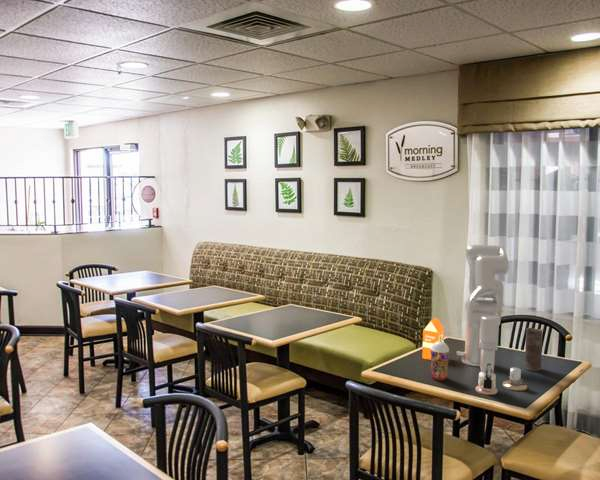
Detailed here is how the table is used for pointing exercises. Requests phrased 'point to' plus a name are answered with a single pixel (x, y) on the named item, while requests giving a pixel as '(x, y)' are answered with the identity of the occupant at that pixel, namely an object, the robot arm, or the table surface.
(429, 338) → the orange juice
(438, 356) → the smoothie
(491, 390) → the coaster
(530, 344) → the candle
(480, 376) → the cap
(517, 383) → the beige piece
